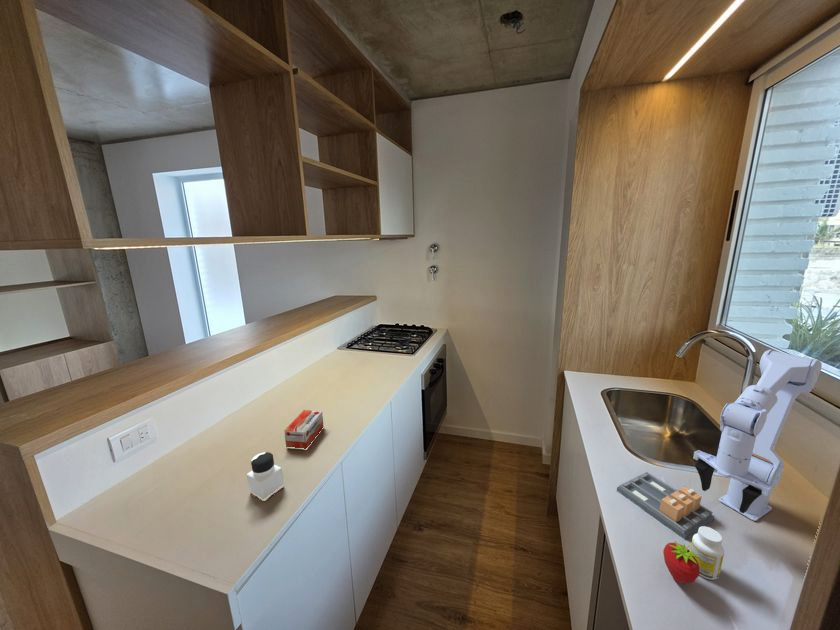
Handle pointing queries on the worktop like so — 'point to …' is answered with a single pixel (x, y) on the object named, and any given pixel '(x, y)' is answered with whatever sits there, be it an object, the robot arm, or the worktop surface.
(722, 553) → the supplement bottle
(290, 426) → the medicine box
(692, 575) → the strawberry
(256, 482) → the medicine bottle
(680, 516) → the orange box
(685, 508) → the tan box with strip
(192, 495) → the worktop surface
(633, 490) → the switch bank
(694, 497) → the cardboard box
